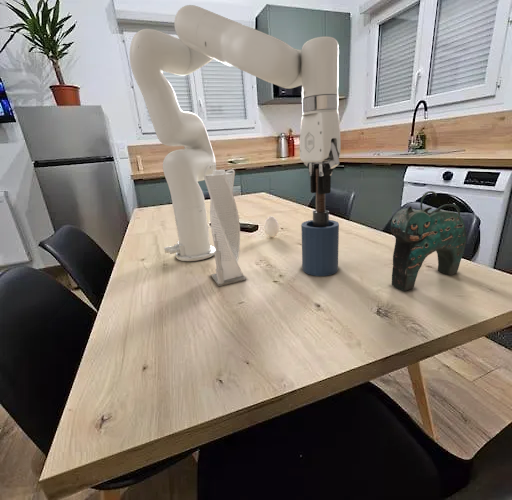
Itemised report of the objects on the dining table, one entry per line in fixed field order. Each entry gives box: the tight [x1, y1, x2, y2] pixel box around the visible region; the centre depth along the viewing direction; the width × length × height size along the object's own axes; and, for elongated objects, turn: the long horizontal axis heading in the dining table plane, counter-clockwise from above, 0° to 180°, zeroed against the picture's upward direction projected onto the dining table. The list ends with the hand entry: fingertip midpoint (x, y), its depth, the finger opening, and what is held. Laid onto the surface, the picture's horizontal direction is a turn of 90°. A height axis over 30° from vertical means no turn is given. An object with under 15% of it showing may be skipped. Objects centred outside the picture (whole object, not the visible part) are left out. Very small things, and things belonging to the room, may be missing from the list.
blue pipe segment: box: [300, 219, 340, 277], centre depth 74 cm, size 9×9×12 cm
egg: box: [263, 215, 280, 238], centre depth 105 cm, size 5×5×8 cm
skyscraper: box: [204, 163, 247, 287], centre depth 71 cm, size 8×8×28 cm
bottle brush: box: [312, 168, 330, 227], centre depth 70 cm, size 4×4×15 cm
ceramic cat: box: [390, 190, 467, 292], centre depth 63 cm, size 20×6×20 cm, turn 114°
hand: (320, 192), depth 70 cm, fingers closed on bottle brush, 2 cm apart
